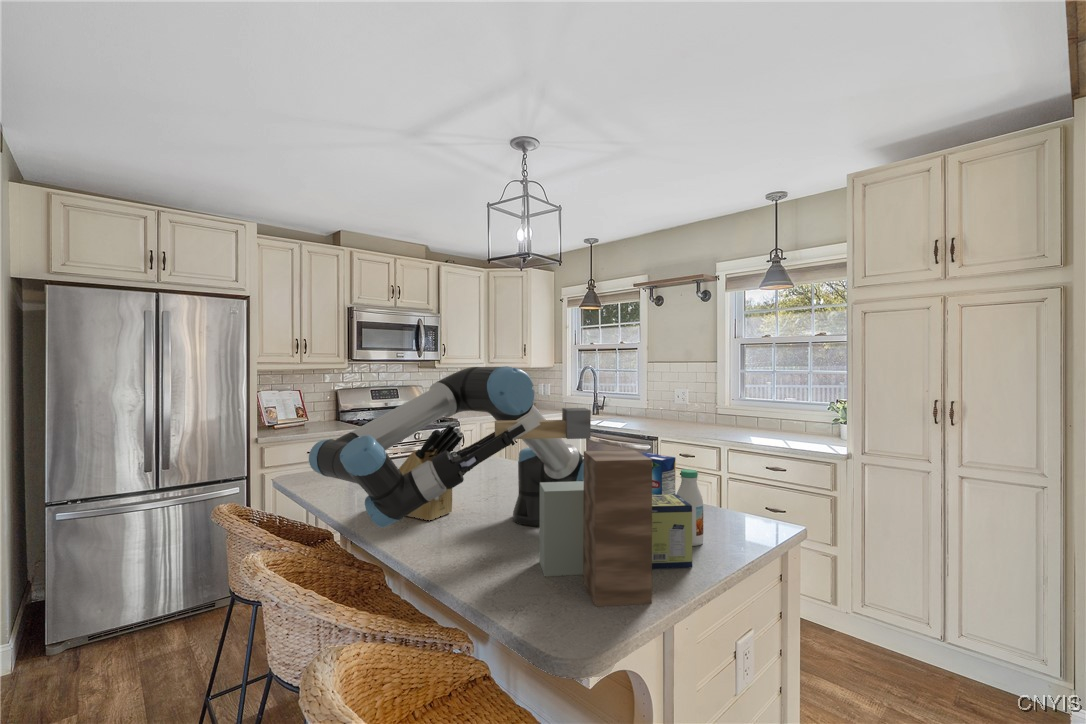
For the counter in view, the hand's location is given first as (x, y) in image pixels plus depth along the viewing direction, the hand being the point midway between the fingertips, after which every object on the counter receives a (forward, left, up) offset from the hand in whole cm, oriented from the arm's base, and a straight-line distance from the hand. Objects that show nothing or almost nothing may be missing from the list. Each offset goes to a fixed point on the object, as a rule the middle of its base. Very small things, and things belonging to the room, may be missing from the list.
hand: (535, 417), depth 110 cm
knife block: (-64, -30, -39) cm, 81 cm away
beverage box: (-40, +41, -39) cm, 69 cm away
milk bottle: (-28, +47, -39) cm, 67 cm away
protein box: (-16, +33, -39) cm, 53 cm away
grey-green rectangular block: (-15, +10, -38) cm, 42 cm away
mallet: (0, +1, -4) cm, 4 cm away
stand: (0, +18, -38) cm, 42 cm away
